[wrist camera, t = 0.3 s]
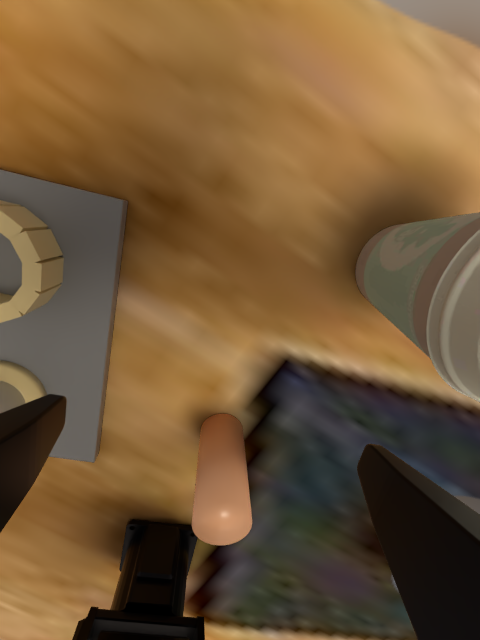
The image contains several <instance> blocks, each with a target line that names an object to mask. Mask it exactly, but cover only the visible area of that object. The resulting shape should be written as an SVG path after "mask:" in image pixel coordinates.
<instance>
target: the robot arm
mask: <svg viewBox="0 0 480 640" xmlns="http://www.w3.org/2000/svg"><path fill="white" fill-rule="evenodd" d="M66 405H67V399H66V397H65V396H62V395H56V394H48V395H45V396H43V397H40V398H38V399H35V400H33V401H30V402H28V403H25V404H23V405H20V406H17V407H15V408H12V409H10V410H7V411H5V412H2V413H0V532H1V531H2V529H3V528H4V527H5V525H6V524H7V522H8V521H9V519H10V518H11V516H12V515H13V513H14V512H15V510H16V509H17V507H18V506H19V504H20V503H21V502H22V500H23V499H24V497H25V496H26V494H27V493H28V491H29V490H30V488H31V487H32V485H33V483H34V482H35V480H36V478H37V477H38V475H39V473H40V471H41V469H42V467H43V466H44V464H45V462H46V460H47V458H48V456H49V454H50V453H51V451H52V449H53V447H54V445H55V443H56V441H57V440H58V438H59V436H60V434H61V432H62V430H63V428H64V425H65V418H66ZM357 471H358V476H359V479H360V482H361V486H362V489H363V493H364V496H365V500H366V503H367V506H368V510H369V513H370V517H371V520H372V523H373V526H374V528H375V531H376V534H377V536H378V539H379V541H380V544H381V547H382V549H383V552H384V554H385V557H386V559H387V562H388V565H389V567H390V570H391V572H392V575H393V577H394V580H395V582H396V585H397V588H398V590H399V593H400V595H401V598H402V600H403V603H404V606H405V608H406V611H407V613H408V616H409V618H410V621H411V624H412V626H413V629H414V631H415V634H416V636H417V639H418V640H480V514H478V513H477V512H475V511H474V510H472V509H471V508H470V507H468V506H467V505H465V504H464V503H463V502H461V501H460V500H458V499H457V498H455V497H454V496H452V495H451V494H450V493H448V492H447V491H445V490H444V489H442V488H441V487H440V486H438V485H437V484H435V483H434V482H432V481H431V480H430V479H428V478H427V477H425V476H424V475H422V474H421V473H420V472H418V471H417V470H415V469H414V468H412V467H411V466H410V465H408V464H407V463H405V462H404V461H402V460H401V459H400V458H398V457H397V456H395V455H394V454H392V453H391V452H390V451H388V450H387V449H385V448H384V447H382V446H380V445H375V444H367V445H366V446H365V448H364V451H363V453H362V455H361V458H360V460H359V463H358V466H357ZM197 538H198V537H197V536H196V535H195V533H194V532H193V529H192V526H184V525H175V524H167V523H158V522H149V521H140V520H130V521H129V522H128V524H127V527H126V533H125V539H124V545H123V551H122V557H121V563H120V571H121V574H120V577H119V581H118V584H117V588H116V592H115V595H114V599H113V602H112V606H111V610H105V609H98V607H91V608H90V611H89V614H88V616H87V617H86V618H85V619H83V620H81V621H79V622H78V625H77V628H76V631H75V634H74V636H73V639H72V640H205V635H204V617H199V616H197V618H193V617H183V611H184V600H185V589H186V579H187V575H188V571H189V568H190V564H191V560H192V557H193V553H194V549H195V545H196V542H197Z"/></svg>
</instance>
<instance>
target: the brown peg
mask: <svg viewBox="0 0 480 640" xmlns="http://www.w3.org/2000/svg"><path fill="white" fill-rule="evenodd" d="M251 527H252V515H251V505H250V495H249V485H248V476H247V466H246V456H245V446H244V437H243V428H242V425H241V423H240V421H239V420H238V419H237V418H235V417H234V416H232V415H229V414H215V415H213V416H210V417H209V418H207V419H206V420H205V421H204V423H203V424H202V426H201V431H200V441H199V452H198V463H197V474H196V484H195V495H194V506H193V516H192V529H193V532H194V533H195V535H196V536H197V537H198V538H199V539H200V540H202V541H204V542H206V543H209V544H212V545H228V544H232V543H235V542H237V541H239V540H241V539H242V538H244V537H245V536H246V535H247V534H248V533H249V531H250V529H251Z"/></svg>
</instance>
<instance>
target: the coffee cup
mask: <svg viewBox="0 0 480 640" xmlns="http://www.w3.org/2000/svg"><path fill="white" fill-rule="evenodd" d="M355 274H356V282H357V285H358V288H359V290H360V292H361V293H362V295H363V296H364V297H365V298H366V299H367V300H368V301H369V302H370V303H371V304H372V305H373V306H374V307H376V308H377V309H378V310H379V311H380V312H381V313H382V314H383V315H384V316H385V317H386V318H387V319H388V320H389V321H391V322H392V323H393V324H394V325H395V326H396V327H397V328H398V329H399V330H400V331H401V332H402V333H403V334H405V335H406V336H407V337H408V338H409V339H410V340H411V341H412V342H413V343H414V344H415V345H416V346H417V347H419V348H420V349H421V350H422V351H423V352H424V353H425V354H426V355H427V356H428V357H429V358H430V359H431V360H432V363H433V365H434V367H435V369H436V370H437V372H438V373H439V375H440V376H441V377H442V379H443V380H444V381H445V382H446V383H447V384H448V385H449V386H451V387H452V388H453V389H455V390H456V391H458V392H460V393H462V394H464V395H466V396H468V397H470V398H472V399H474V400H476V401H478V402H480V212H479V213H472V214H465V215H459V216H452V217H445V218H438V219H432V220H425V221H418V222H412V223H406V224H399V225H394V226H390V227H387V228H385V229H383V230H381V231H380V232H378V233H377V234H375V235H374V236H373V237H372V238H371V239H370V240H369V241H368V242H367V243H366V245H365V246H364V247H363V249H362V251H361V253H360V255H359V257H358V260H357V264H356V272H355Z"/></svg>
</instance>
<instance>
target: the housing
mask: <svg viewBox="0 0 480 640" xmlns="http://www.w3.org/2000/svg"><path fill="white" fill-rule="evenodd" d="M127 206H128V201H126V200H122V199H118V198H114V197H110V196H106V195H102V194H98V193H94V192H90V191H86V190H82V189H78V188H74V187H70V186H66V185H62V184H58V183H54V182H50V181H46V180H42V179H38V178H34V177H29V176H25V175H21V174H17V173H13V172H9V171H5V170H1V169H0V413H2V412H5V411H7V410H10V409H12V408H15V407H17V406H20V405H23V404H25V403H28V402H30V401H33V400H35V399H38V398H40V397H43V396H45V395H48V394H56V395H62V396H65V397H66V399H67V405H66V418H65V425H64V428H63V430H62V432H61V434H60V436H59V438H58V440H57V441H56V443H55V445H54V447H53V449H52V451H51V453H50V454H49V457H57V458H64V459H71V460H79V461H86V462H95V460H96V458H97V456H98V454H99V448H100V439H101V431H102V422H103V413H104V405H105V396H106V387H107V379H108V370H109V361H110V353H111V344H112V336H113V327H114V318H115V310H116V301H117V292H118V284H119V275H120V267H121V258H122V249H123V241H124V232H125V223H126V215H127Z"/></svg>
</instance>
